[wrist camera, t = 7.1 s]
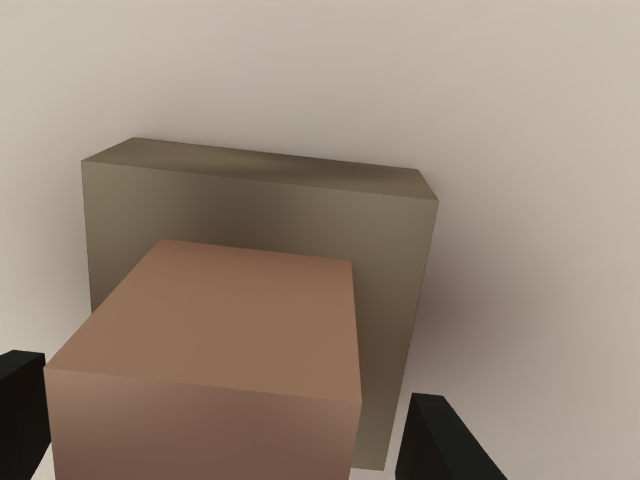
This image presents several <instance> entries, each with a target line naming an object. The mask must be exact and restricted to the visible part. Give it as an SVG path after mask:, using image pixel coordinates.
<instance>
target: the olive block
mask: <svg viewBox="0 0 640 480" xmlns="http://www.w3.org/2000/svg"><path fill="white" fill-rule="evenodd" d="M81 167H82V181H83V195H84V210H85V224H86V238H87V253H88V267H89V281H90V295H91V310H92V314H93V312H94V311H95V310H96V309H97V308H98V307H99V306H100V305H101V304H102V303H103V301H104V300H105V299H106V298H107V297H108V296H109V295H110V294H111V293H112V292H113V291H114V289H115V288H116V287H117V286H118V285H119V284H120V283H121V282H122V281H123V280H124V278H125V277H126V276H127V275H128V274H129V273H130V272H131V271H132V270H133V269H134V267H135V266H136V265H137V264H138V263H139V262H140V261H141V260H142V259H143V258H144V256H145V255H146V254H147V253H148V252H149V251H150V250H151V249H152V248H153V247H154V245H155V244H156V243H157V242H158V241H159V240H160V239H167V240H176V241H184V242H193V243H202V244H210V245H219V246H228V247H236V248H245V249H254V250H262V251H271V252H280V253H289V254H297V255H306V256H315V257H323V258H332V259H341V260H349V261H351V264H352V277H353V290H354V304H355V317H356V330H357V343H358V356H359V369H360V382H361V395H362V407H361V412H360V418H359V423H358V429H357V435H356V440H355V446H354V451H353V457H352V463H351V468H361V469H370V470H380V471H384V467H385V462H386V457H387V452H388V447H389V442H390V437H391V432H392V427H393V423H394V418H395V413H396V408H397V403H398V398H399V393H400V388H401V383H402V379H403V374H404V369H405V364H406V359H407V354H408V349H409V344H410V339H411V335H412V330H413V325H414V320H415V315H416V310H417V305H418V300H419V295H420V290H421V286H422V281H423V276H424V271H425V266H426V261H427V256H428V251H429V246H430V242H431V237H432V232H433V227H434V222H435V217H436V212H437V207H438V202H439V200H438V199H437V198H436V196H435V195H434V193H433V192H432V190H431V189H430V187H429V186H428V184H427V183H426V181H425V180H424V178H423V177H422V175H421V174H420V172H419V171H418V170H414V169H405V168H397V167H388V166H379V165H370V164H361V163H352V162H344V161H335V160H326V159H317V158H308V157H299V156H290V155H282V154H273V153H264V152H255V151H246V150H237V149H228V148H220V147H211V146H202V145H193V144H184V143H175V142H167V141H158V140H149V139H140V138H131V139H129V140H126V141H124V142H122V143H120V144H117V145H115V146H113V147H111V148H108V149H106V150H104V151H102V152H100V153H97V154H95V155H93V156H91V157H88V158H86V159H84V160H82V161H81Z"/></svg>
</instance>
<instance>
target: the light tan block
mask: <svg viewBox="0 0 640 480" xmlns="http://www.w3.org/2000/svg"><path fill="white" fill-rule="evenodd" d="M43 370H44V379H45V388H46V397H47V406H48V415H49V424H50V433H51V443H52V452H53V461H54V470H55V479H56V480H348V479H349V474H350V468H351V463H352V457H353V451H354V446H355V440H356V435H357V429H358V423H359V418H360V412H361V407H362V395H361V382H360V369H359V356H358V343H357V330H356V317H355V304H354V290H353V277H352V264H351V261H349V260H341V259H332V258H323V257H315V256H306V255H297V254H289V253H280V252H271V251H262V250H254V249H245V248H236V247H228V246H219V245H210V244H202V243H193V242H184V241H176V240H167V239H160V240H159V241H158V242H157V243H156V244H155V245H154V247H153V248H152V249H151V250H150V251H149V252H148V253H147V254H146V255H145V256H144V258H143V259H142V260H141V261H140V262H139V263H138V264H137V265H136V266H135V267H134V269H133V270H132V271H131V272H130V273H129V274H128V275H127V276H126V277H125V278H124V280H123V281H122V282H121V283H120V284H119V285H118V286H117V287H116V288H115V289H114V291H113V292H112V293H111V294H110V295H109V296H108V297H107V298H106V299H105V300H104V301H103V303H102V304H101V305H100V306H99V307H98V308H97V309H96V310H95V311H94V312H93V314H92V315H91V316H90V317H89V318H88V319H87V320H86V321H85V322H84V323H83V325H82V326H81V327H80V328H79V329H78V330H77V331H76V332H75V333H74V334H73V336H72V337H71V338H70V339H69V340H68V341H67V342H66V343H65V344H64V345H63V347H62V348H61V349H60V350H59V351H58V352H57V353H56V354H55V355H54V356H53V358H52V359H51V360H50V361H49V362H48V363H47V364H46V365H45V366H44V367H43Z"/></svg>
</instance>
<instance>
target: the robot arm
mask: <svg viewBox="0 0 640 480" xmlns="http://www.w3.org/2000/svg"><path fill="white" fill-rule="evenodd" d="M45 365H46V362H45V353H38V352H29V351H19V350H12V351H9V352H7V353H5V354H2V355H0V480H31V478H32V476H33V475H34V473H35V471H36V469H37V467H38V466H39V464H40V462H41V460H42V458H43V456H44V454H45V452H46V450H47V448H48V446H49V444H50V442H51V433H50V424H49V415H48V406H47V397H46V388H45V379H44V370H43V367H44V366H45ZM395 478H396V480H508V479H507V478H506V477H505V476H504V474H503V473H502V472H501V471H500V470H499V468H498V467H497V466H496V465H495V463H494V462H493V461H492V460H491V458H490V457H489V456H488V454H487V453H486V452H485V451H484V449H483V448H482V447H481V445H480V444H479V443H478V441H477V440H476V439H475V437H474V436H473V435H472V434H471V432H470V431H469V430H468V428H467V427H466V426H465V424H464V423H463V422H462V420H461V419H460V417H459V416H458V415H457V413H456V412H455V411H454V410H453V408H452V407H451V406H450V404H449V403H448V402H447V400H446V399H445V398H444V396H440V395H430V394H421V393H412V396H411V400H410V405H409V410H408V414H407V419H406V424H405V428H404V433H403V437H402V442H401V447H400V451H399V456H398V461H397V465H396V470H395Z"/></svg>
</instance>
